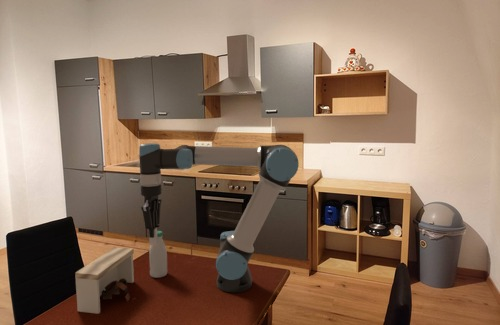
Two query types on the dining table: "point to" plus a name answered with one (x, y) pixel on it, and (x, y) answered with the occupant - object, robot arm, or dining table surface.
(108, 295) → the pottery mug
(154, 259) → the milk bottle
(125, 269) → the small wooden bench
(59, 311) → the dining table surface
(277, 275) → the dining table surface
